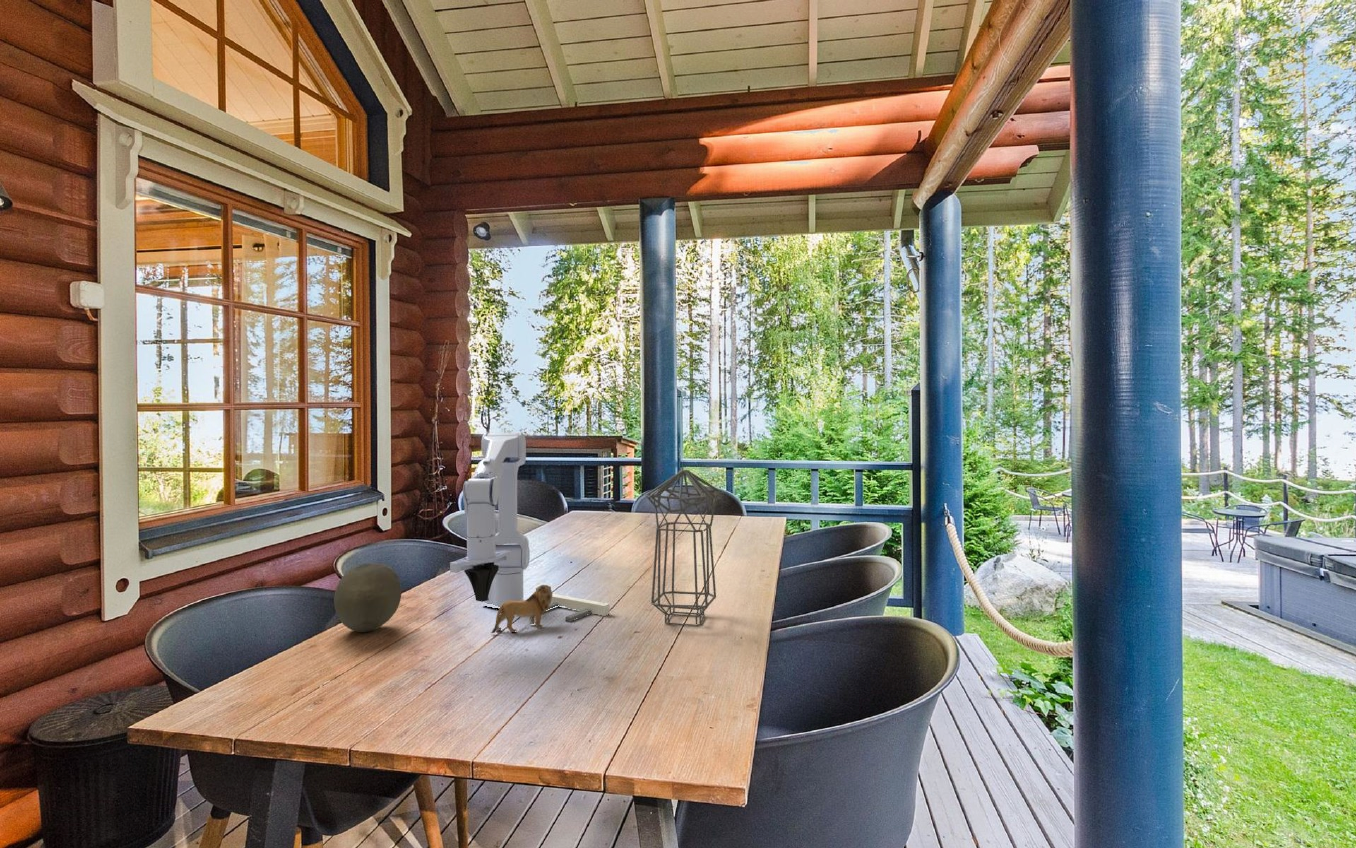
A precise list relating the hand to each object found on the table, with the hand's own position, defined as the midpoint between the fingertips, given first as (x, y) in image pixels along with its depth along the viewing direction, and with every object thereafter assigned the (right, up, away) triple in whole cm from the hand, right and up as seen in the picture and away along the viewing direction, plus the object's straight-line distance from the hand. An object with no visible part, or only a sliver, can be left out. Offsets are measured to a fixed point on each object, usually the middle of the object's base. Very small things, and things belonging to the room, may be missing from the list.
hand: (481, 600), depth 139 cm
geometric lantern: (+43, -9, +16) cm, 47 cm away
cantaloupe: (-28, -9, +9) cm, 30 cm away
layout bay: (+13, -9, +21) cm, 27 cm away
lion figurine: (+6, -9, +11) cm, 16 cm away
